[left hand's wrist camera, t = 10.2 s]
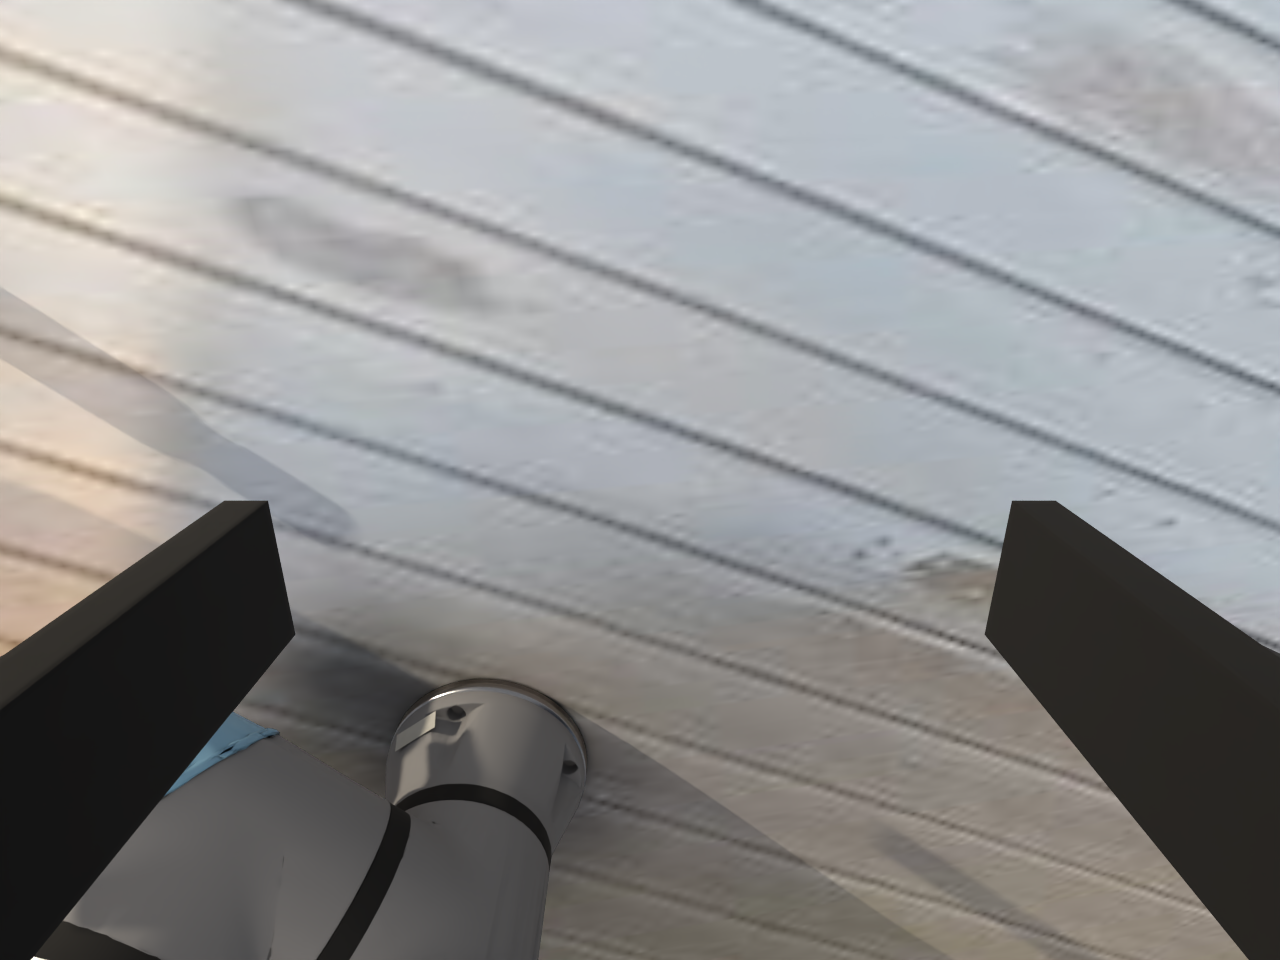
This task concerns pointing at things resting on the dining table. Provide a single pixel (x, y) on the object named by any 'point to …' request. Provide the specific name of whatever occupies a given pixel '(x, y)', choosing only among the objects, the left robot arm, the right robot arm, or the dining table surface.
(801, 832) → the dining table surface
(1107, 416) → the dining table surface
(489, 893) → the left robot arm
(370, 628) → the dining table surface
